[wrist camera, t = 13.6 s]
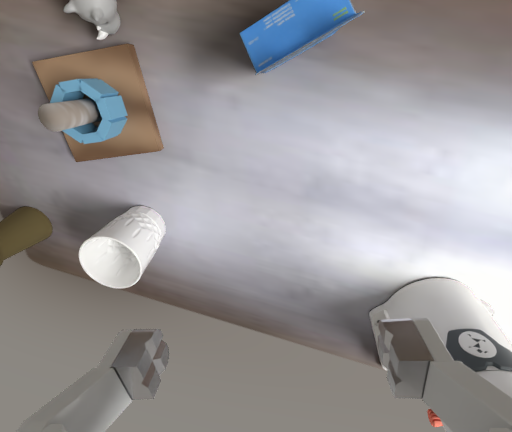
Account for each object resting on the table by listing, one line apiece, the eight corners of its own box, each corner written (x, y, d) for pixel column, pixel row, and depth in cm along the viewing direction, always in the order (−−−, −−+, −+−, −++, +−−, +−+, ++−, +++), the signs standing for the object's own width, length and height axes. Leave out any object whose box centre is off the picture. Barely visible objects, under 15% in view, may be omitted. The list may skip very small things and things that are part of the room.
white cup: (160, 198, 41) (127, 233, 32) (176, 243, 44) (150, 286, 36) (112, 205, 42) (67, 240, 33) (130, 248, 46) (94, 290, 37)
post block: (163, 148, 37) (129, 169, 29) (83, 159, 39) (28, 182, 31) (133, 44, 32) (81, 34, 24) (41, 62, 34) (-38, 58, 25)
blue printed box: (323, -7, 29) (349, -57, 18) (336, 33, 30) (369, 9, 19) (247, 41, 31) (229, 23, 20) (263, 75, 33) (255, 77, 22)
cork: (55, 218, 44) (-9, 259, 34) (48, 245, 47) (-13, 290, 37) (17, 199, 43) (-61, 236, 33) (12, 228, 46) (-61, 270, 36)
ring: (114, 75, 32) (96, 75, 29) (133, 133, 35) (118, 139, 32) (63, 84, 33) (40, 85, 30) (86, 139, 36) (67, 146, 33)
